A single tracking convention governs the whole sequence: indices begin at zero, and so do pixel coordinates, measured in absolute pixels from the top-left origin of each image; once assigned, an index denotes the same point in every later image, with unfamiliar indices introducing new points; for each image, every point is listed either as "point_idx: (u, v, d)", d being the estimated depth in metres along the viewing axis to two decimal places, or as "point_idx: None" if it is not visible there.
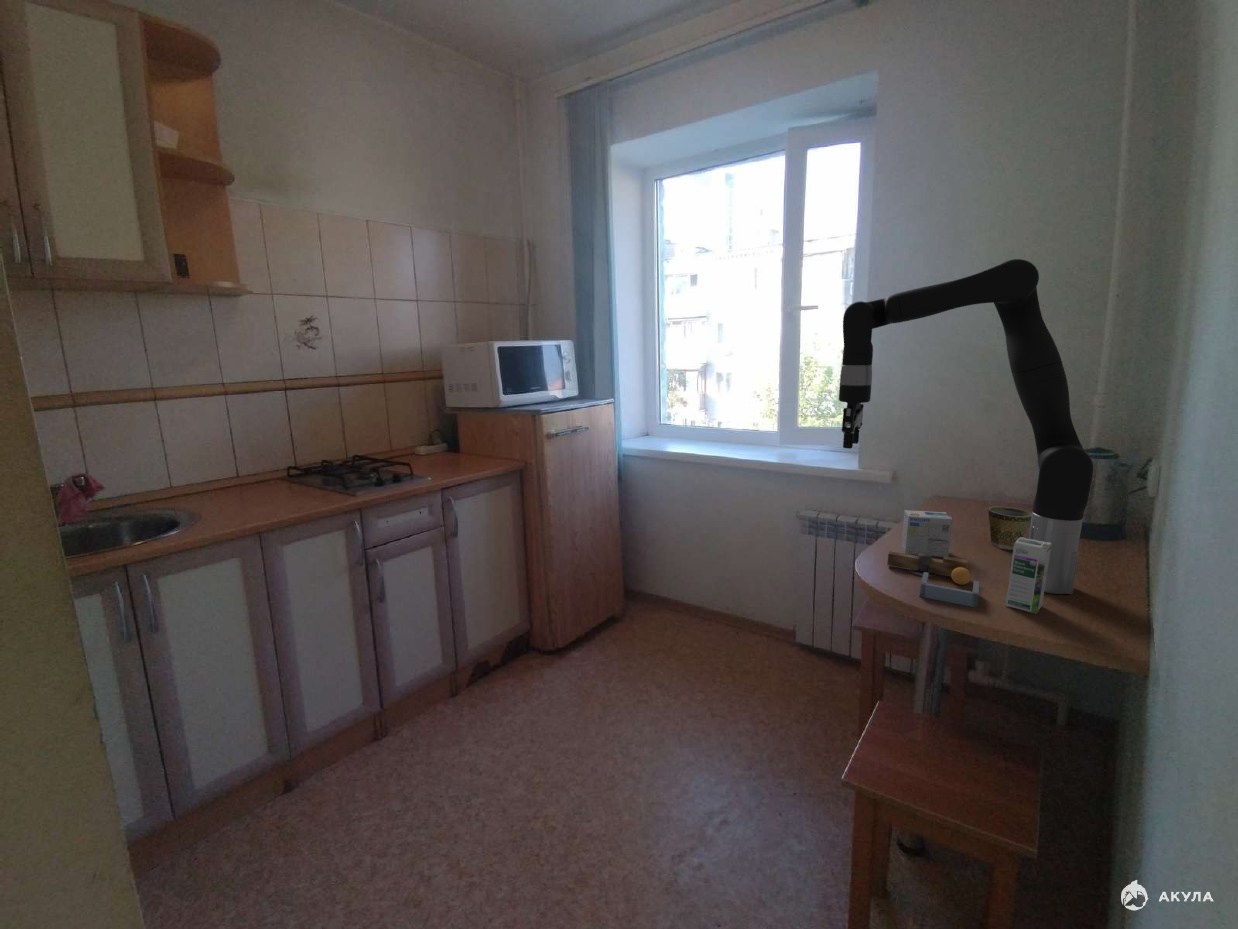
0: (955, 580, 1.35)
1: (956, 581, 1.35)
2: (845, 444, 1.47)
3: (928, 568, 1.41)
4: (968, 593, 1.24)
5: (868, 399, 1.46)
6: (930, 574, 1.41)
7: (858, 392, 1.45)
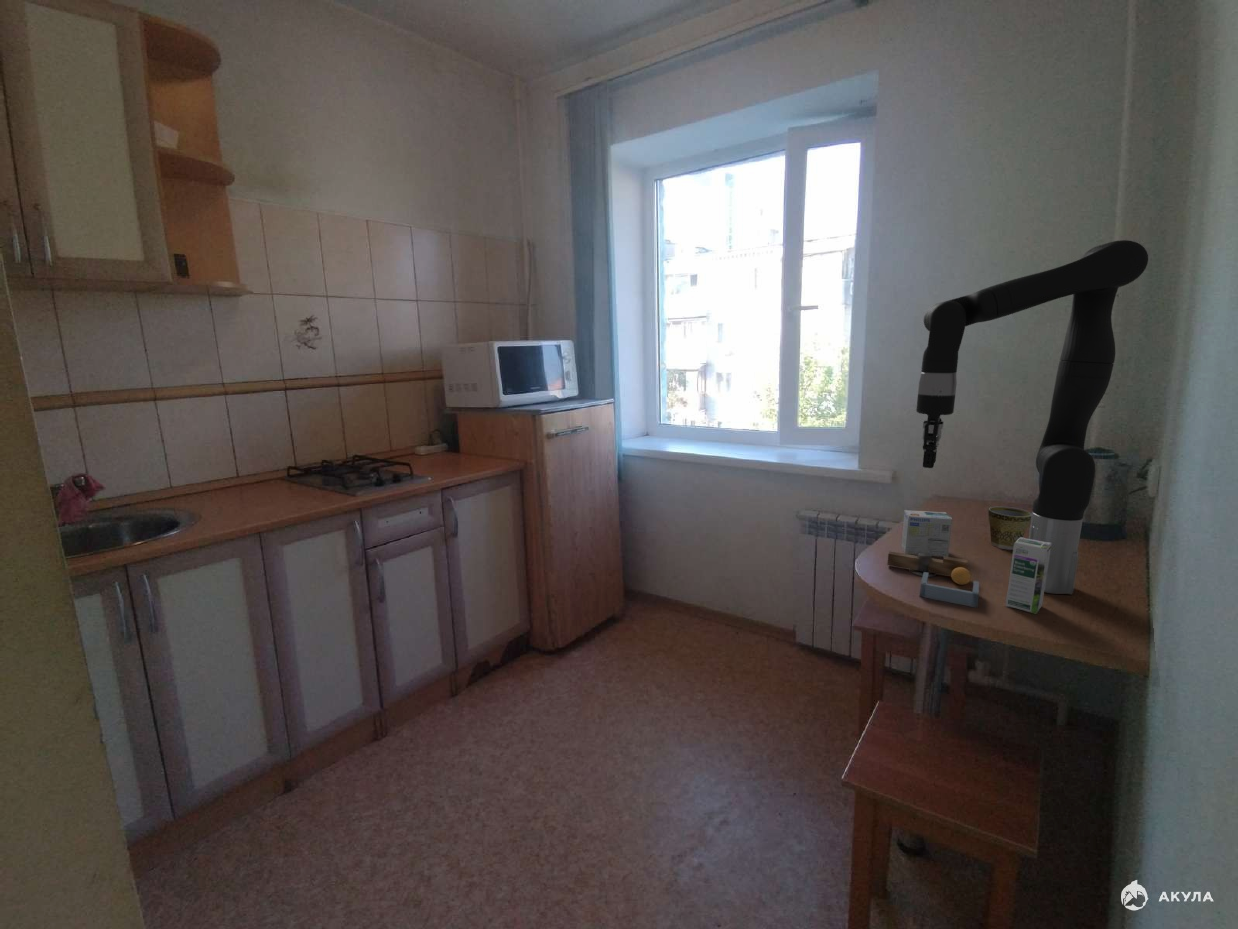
0: (955, 580, 1.35)
1: (956, 581, 1.35)
2: (926, 463, 1.32)
3: (928, 568, 1.41)
4: (968, 593, 1.24)
5: (952, 411, 1.30)
6: (930, 574, 1.41)
7: (941, 403, 1.29)
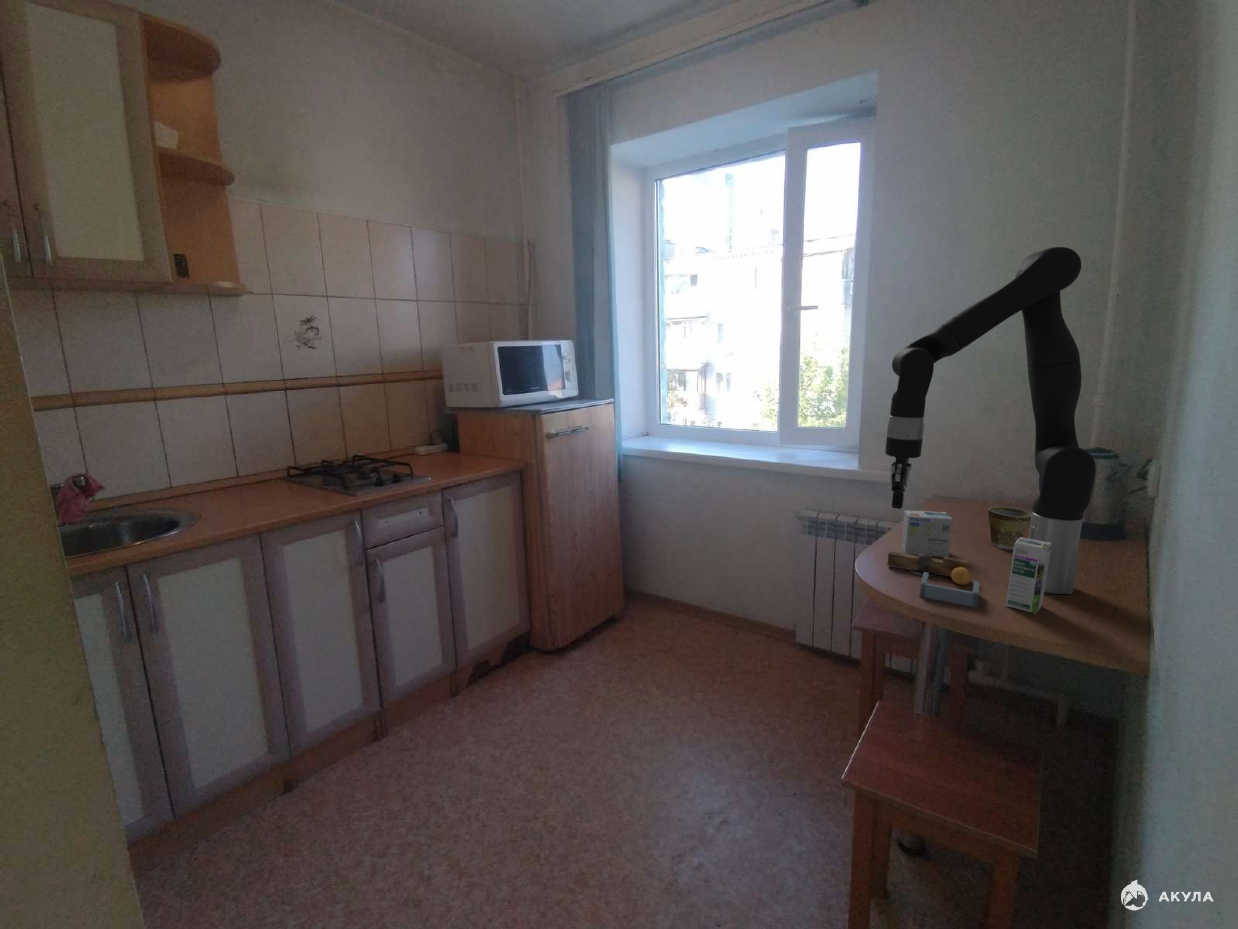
0: (955, 580, 1.35)
1: (956, 581, 1.35)
2: (894, 504, 1.37)
3: (928, 568, 1.41)
4: (968, 593, 1.24)
5: (919, 454, 1.32)
6: (930, 574, 1.41)
7: (908, 447, 1.31)
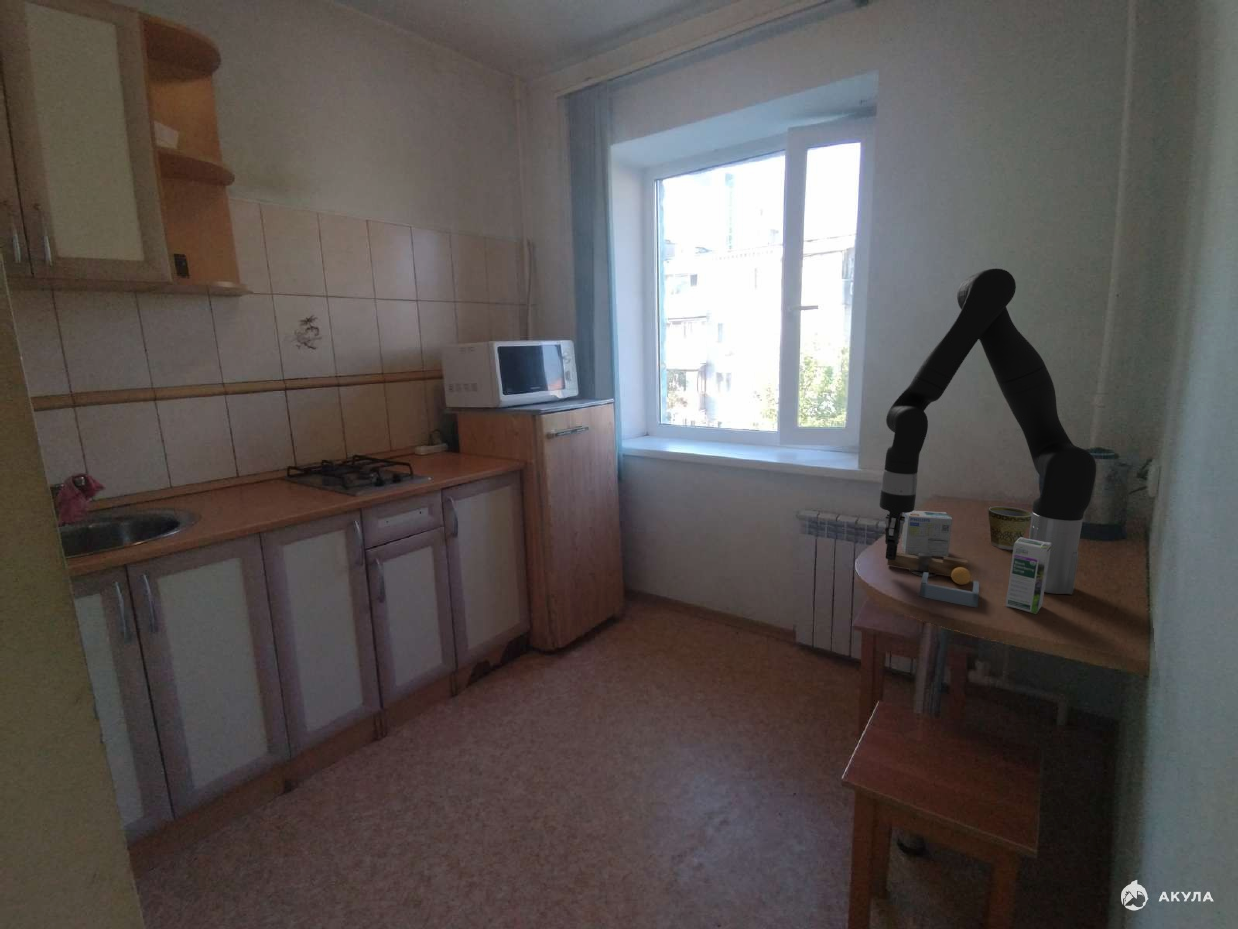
0: (955, 580, 1.35)
1: (956, 581, 1.35)
2: (888, 556, 1.39)
3: (928, 568, 1.41)
4: (968, 593, 1.24)
5: (912, 509, 1.35)
6: (930, 574, 1.41)
7: (902, 502, 1.34)
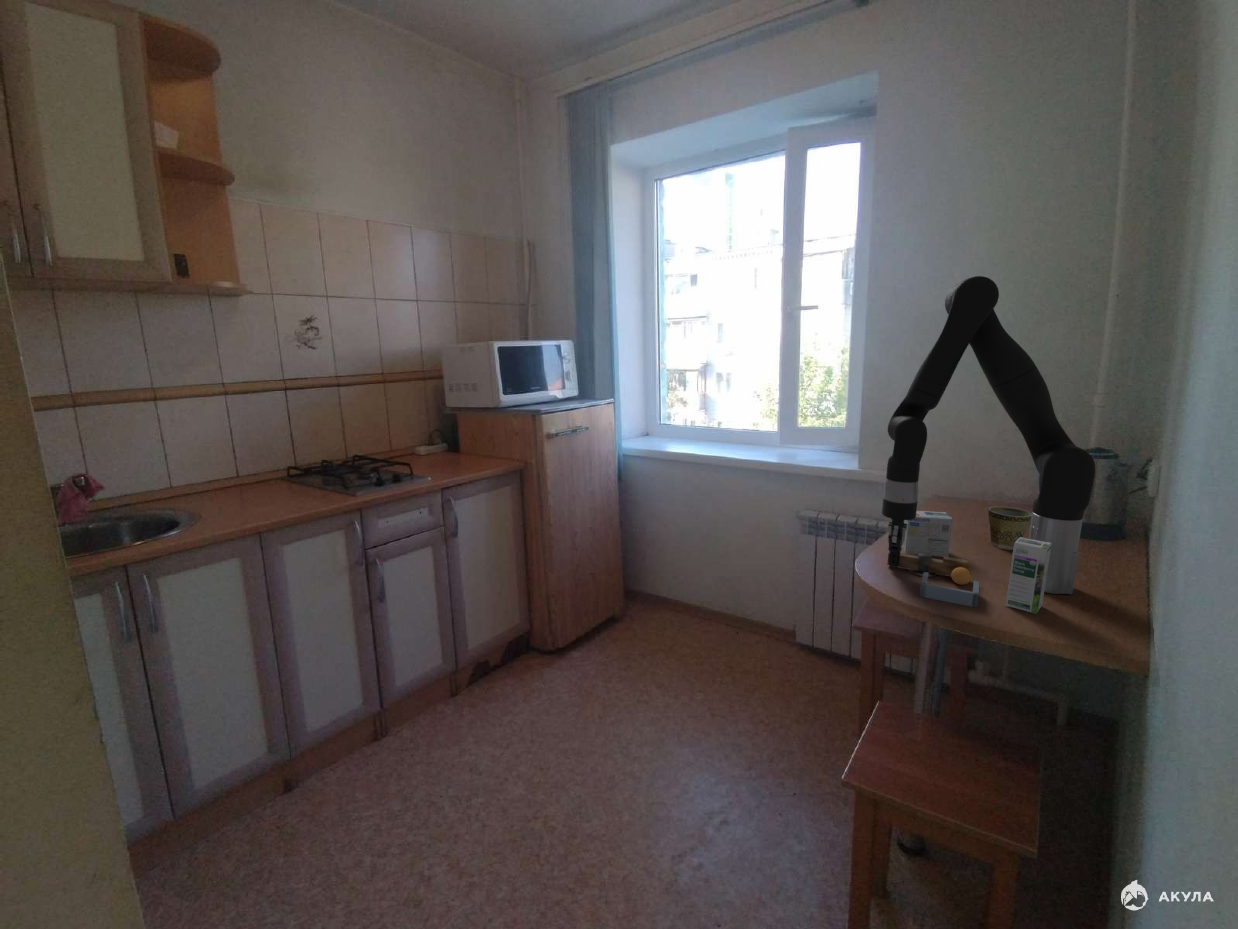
0: (955, 580, 1.35)
1: (956, 581, 1.35)
2: (891, 562, 1.42)
3: (928, 568, 1.41)
4: (968, 593, 1.24)
5: (914, 516, 1.38)
6: (930, 574, 1.41)
7: (904, 510, 1.37)
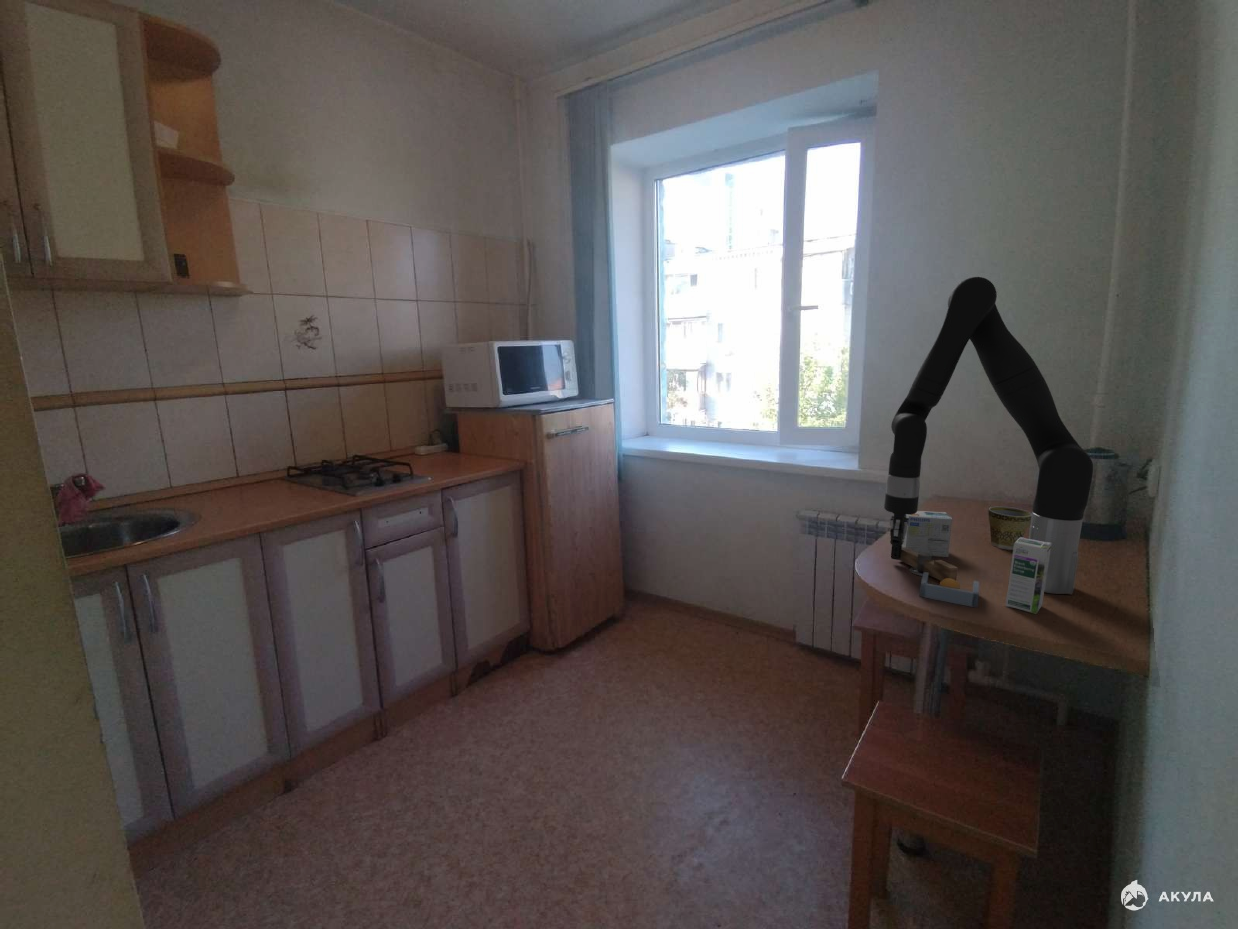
0: (945, 579, 1.29)
1: (946, 579, 1.29)
2: (893, 555, 1.47)
3: (923, 568, 1.41)
4: (968, 593, 1.24)
5: (916, 511, 1.42)
6: None
7: (906, 504, 1.41)
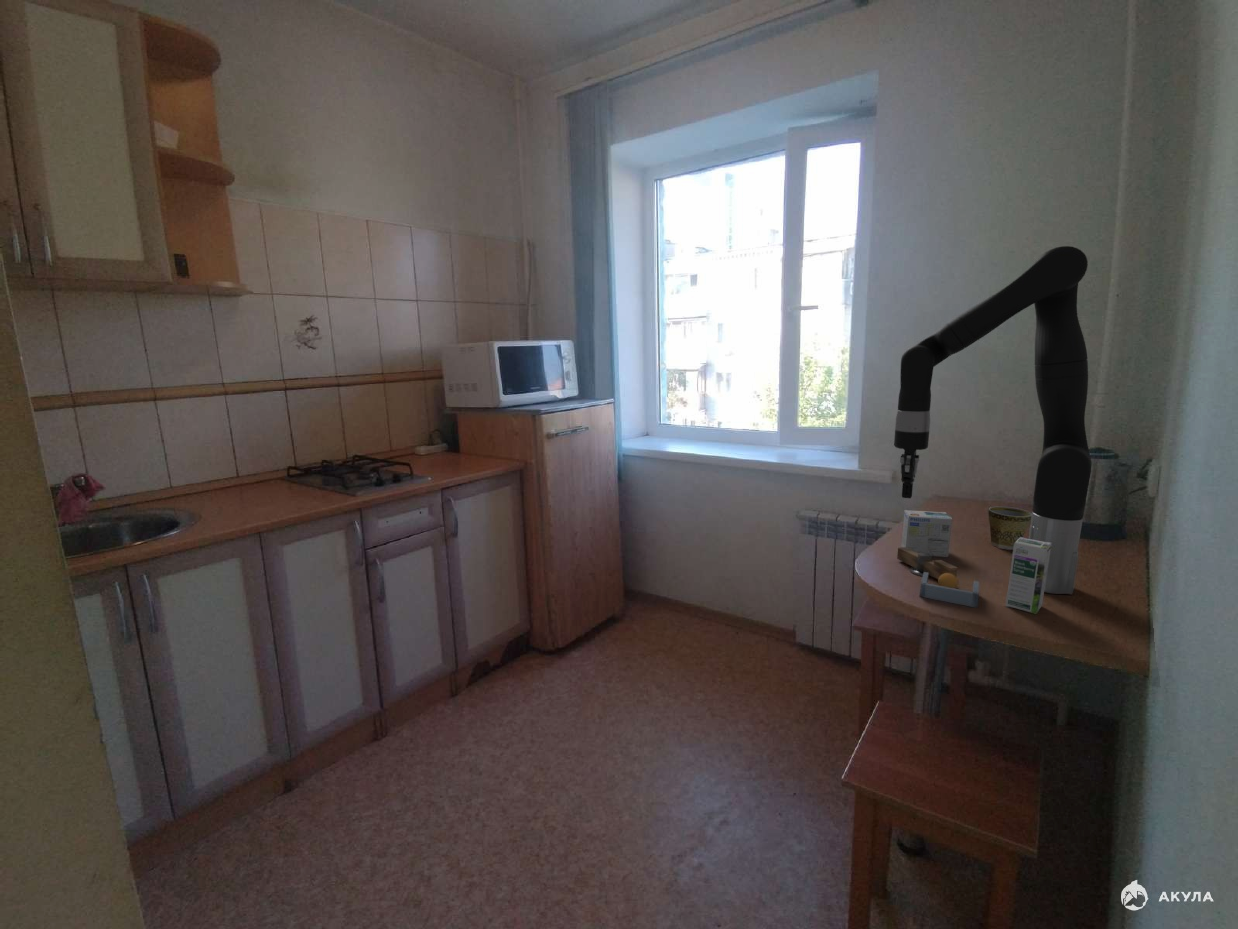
0: None
1: None
2: (904, 494, 1.44)
3: (923, 568, 1.41)
4: (968, 593, 1.24)
5: (926, 446, 1.40)
6: None
7: (916, 439, 1.39)
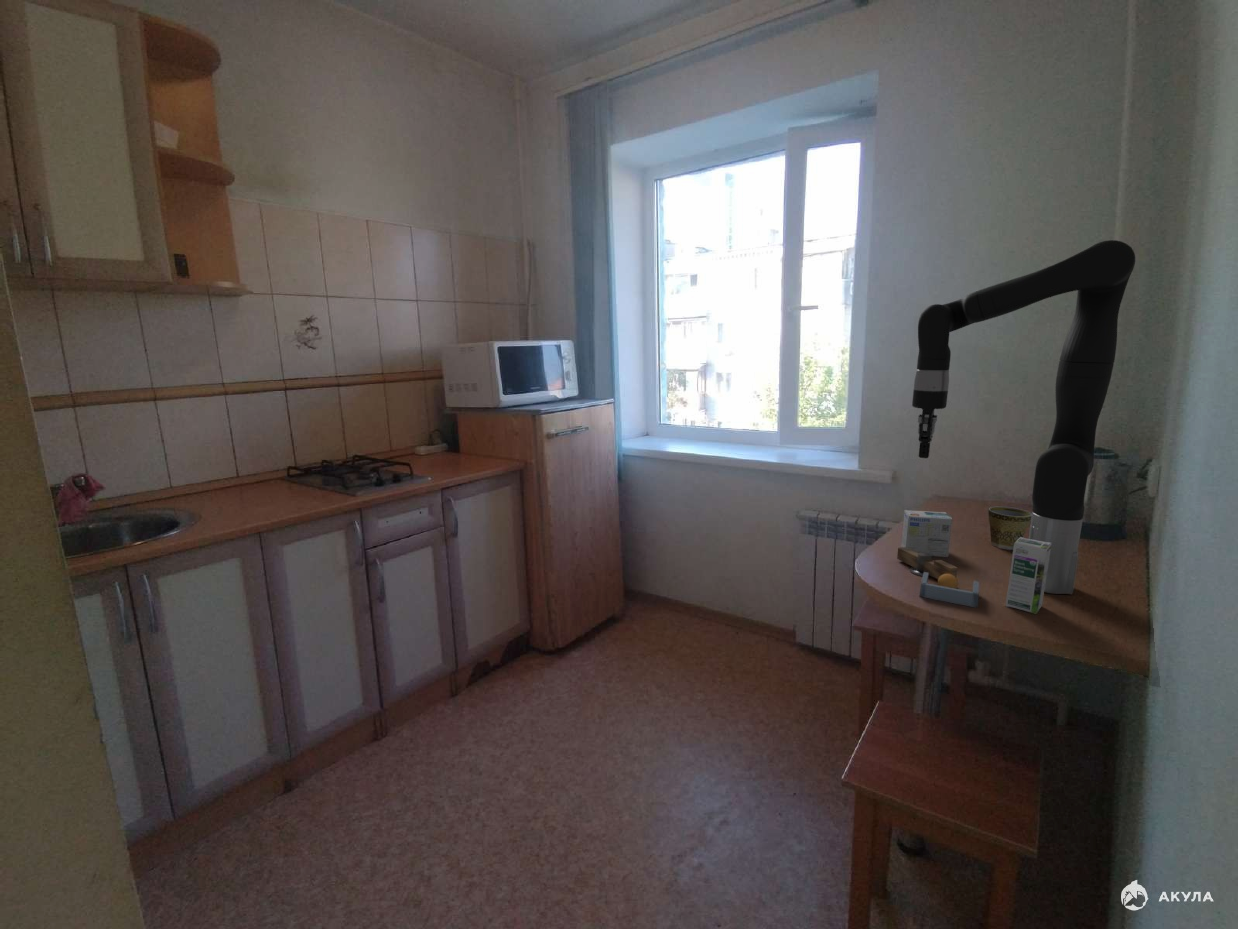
0: None
1: None
2: (921, 454, 1.45)
3: (923, 568, 1.41)
4: (968, 593, 1.24)
5: (945, 405, 1.41)
6: None
7: (935, 398, 1.40)
